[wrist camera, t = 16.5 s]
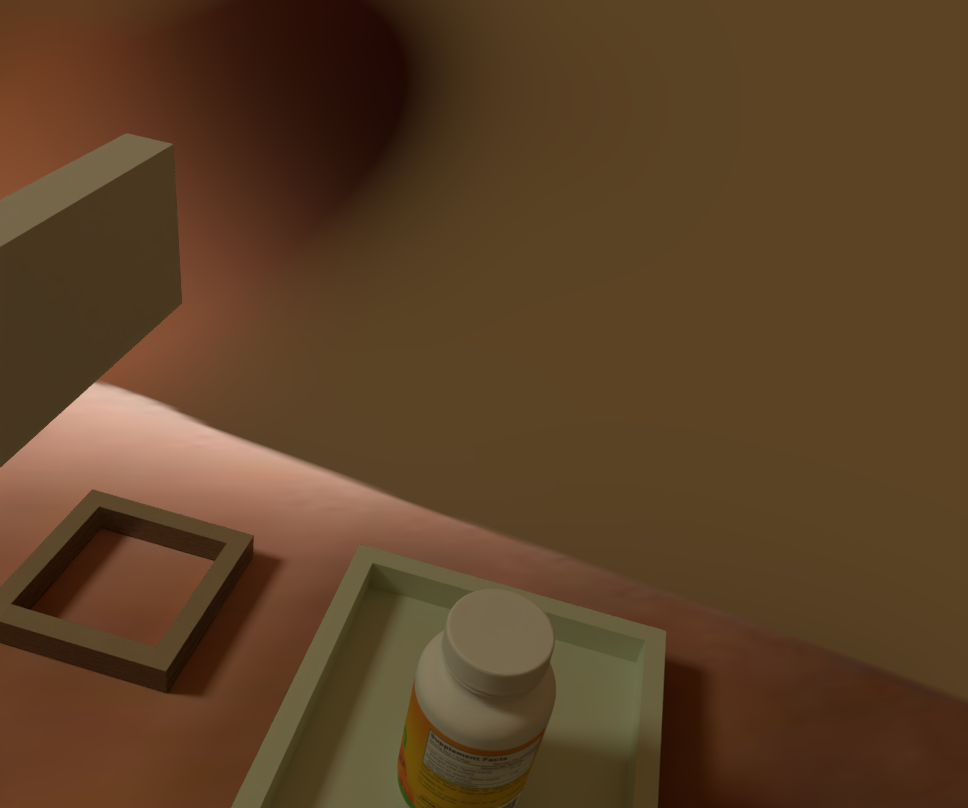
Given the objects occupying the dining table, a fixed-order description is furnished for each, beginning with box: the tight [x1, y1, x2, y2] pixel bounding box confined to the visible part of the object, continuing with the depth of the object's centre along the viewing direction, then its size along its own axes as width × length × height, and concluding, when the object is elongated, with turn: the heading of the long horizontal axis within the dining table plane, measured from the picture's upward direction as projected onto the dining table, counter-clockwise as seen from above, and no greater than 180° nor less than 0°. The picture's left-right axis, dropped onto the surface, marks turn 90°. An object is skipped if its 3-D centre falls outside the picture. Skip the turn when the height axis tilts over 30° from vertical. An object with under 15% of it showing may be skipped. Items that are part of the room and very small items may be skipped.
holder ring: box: [0, 490, 254, 693], centre depth 42 cm, size 9×9×2 cm
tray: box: [231, 544, 666, 808], centre depth 37 cm, size 16×20×2 cm
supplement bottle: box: [396, 589, 556, 808], centre depth 34 cm, size 5×5×10 cm
